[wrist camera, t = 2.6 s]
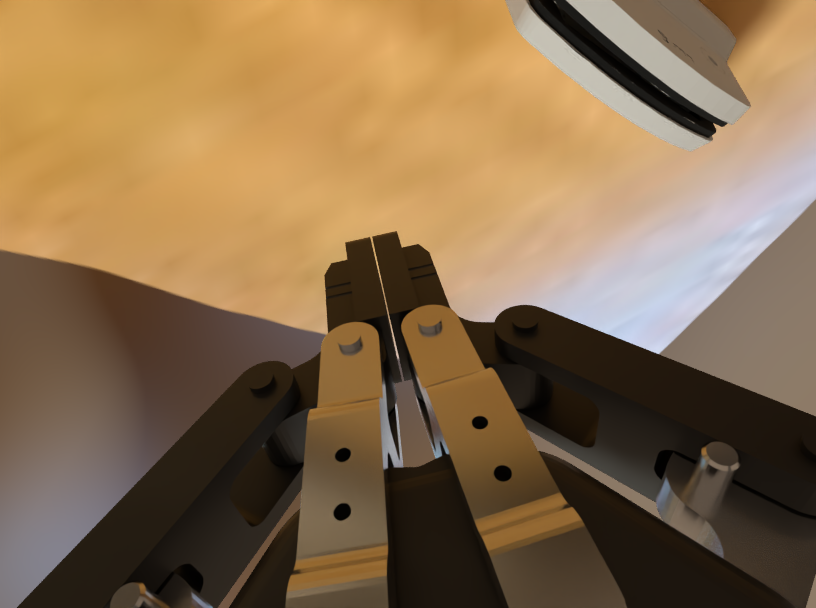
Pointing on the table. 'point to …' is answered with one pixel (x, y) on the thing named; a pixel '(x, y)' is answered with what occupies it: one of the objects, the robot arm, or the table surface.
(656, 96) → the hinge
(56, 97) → the table surface
